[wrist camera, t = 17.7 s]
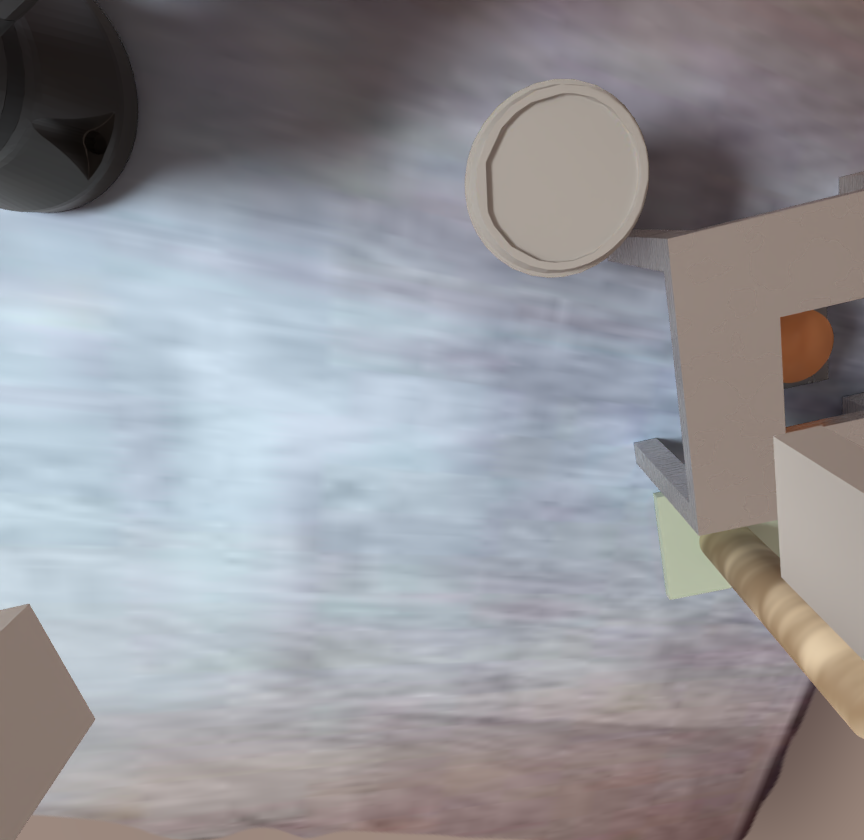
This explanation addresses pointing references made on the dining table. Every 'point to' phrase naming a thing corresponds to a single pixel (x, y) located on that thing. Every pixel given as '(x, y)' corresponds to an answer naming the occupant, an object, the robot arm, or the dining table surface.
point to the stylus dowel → (790, 620)
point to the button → (804, 344)
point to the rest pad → (694, 552)
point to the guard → (745, 346)
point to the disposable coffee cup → (557, 178)
